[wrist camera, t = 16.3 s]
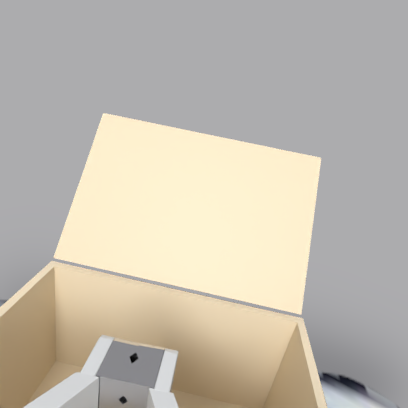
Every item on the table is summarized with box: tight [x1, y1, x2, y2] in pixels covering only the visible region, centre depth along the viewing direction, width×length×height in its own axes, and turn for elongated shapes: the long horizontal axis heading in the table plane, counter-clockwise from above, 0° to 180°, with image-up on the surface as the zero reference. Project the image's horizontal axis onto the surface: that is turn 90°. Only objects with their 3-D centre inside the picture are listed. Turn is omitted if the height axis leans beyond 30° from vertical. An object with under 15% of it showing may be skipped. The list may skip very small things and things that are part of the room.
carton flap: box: [54, 113, 321, 314], centre depth 26 cm, size 14×21×1 cm
